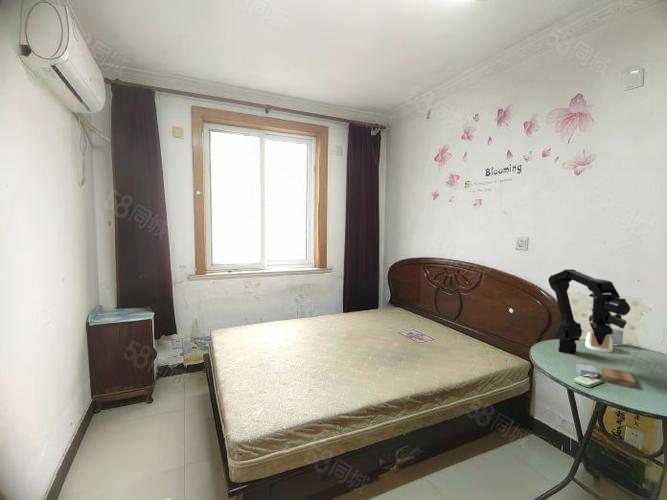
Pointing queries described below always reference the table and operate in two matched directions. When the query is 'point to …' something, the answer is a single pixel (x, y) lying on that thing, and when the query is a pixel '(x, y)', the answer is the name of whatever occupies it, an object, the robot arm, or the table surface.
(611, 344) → the teardrop
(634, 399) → the table surface
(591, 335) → the terracotta block
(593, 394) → the table surface
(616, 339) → the medicine box
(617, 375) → the walnut block
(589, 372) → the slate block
